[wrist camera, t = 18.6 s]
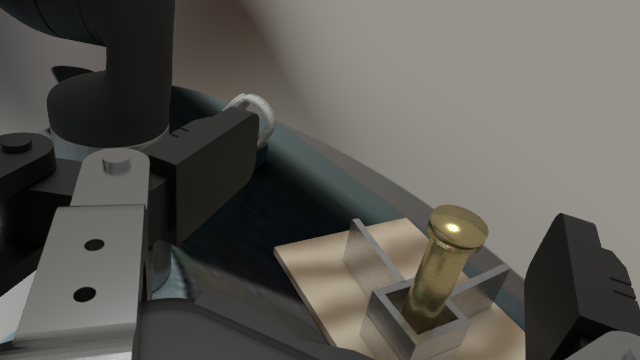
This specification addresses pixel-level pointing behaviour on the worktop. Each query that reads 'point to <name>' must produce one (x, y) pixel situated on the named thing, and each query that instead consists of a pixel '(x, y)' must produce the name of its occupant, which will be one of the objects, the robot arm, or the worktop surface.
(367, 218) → the worktop surface
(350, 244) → the hinge
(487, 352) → the board
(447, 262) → the hinge pin
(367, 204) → the worktop surface
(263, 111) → the watch
